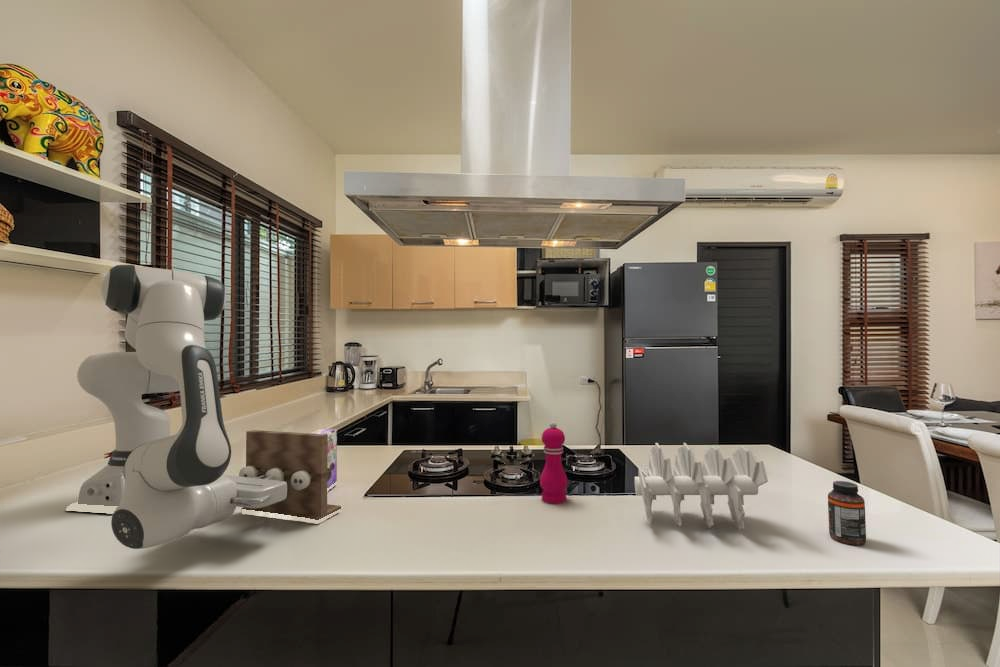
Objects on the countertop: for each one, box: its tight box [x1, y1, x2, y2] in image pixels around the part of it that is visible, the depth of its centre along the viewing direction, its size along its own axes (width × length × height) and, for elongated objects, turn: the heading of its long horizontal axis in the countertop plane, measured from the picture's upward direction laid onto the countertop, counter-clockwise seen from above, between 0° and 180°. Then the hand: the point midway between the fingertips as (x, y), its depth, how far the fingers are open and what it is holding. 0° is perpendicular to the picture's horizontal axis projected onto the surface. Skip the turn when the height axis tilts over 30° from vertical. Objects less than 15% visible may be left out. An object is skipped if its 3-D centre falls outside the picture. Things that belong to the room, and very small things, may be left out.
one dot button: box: [238, 466, 261, 478], centre depth 107 cm, size 4×6×4 cm
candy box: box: [309, 428, 338, 488], centre depth 123 cm, size 14×6×16 cm, turn 179°
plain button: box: [265, 468, 286, 481], centre depth 105 cm, size 4×6×4 cm
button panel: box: [241, 429, 342, 520], centre depth 108 cm, size 22×8×20 cm, turn 72°
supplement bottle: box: [827, 480, 867, 546], centre depth 91 cm, size 6×6×11 cm
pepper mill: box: [539, 421, 569, 504], centre depth 116 cm, size 7×7×20 cm
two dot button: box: [291, 470, 312, 490], centre depth 102 cm, size 4×6×4 cm
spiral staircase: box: [633, 442, 769, 530], centre depth 100 cm, size 18×18×25 cm
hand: (269, 479), depth 101 cm, fingers closed
